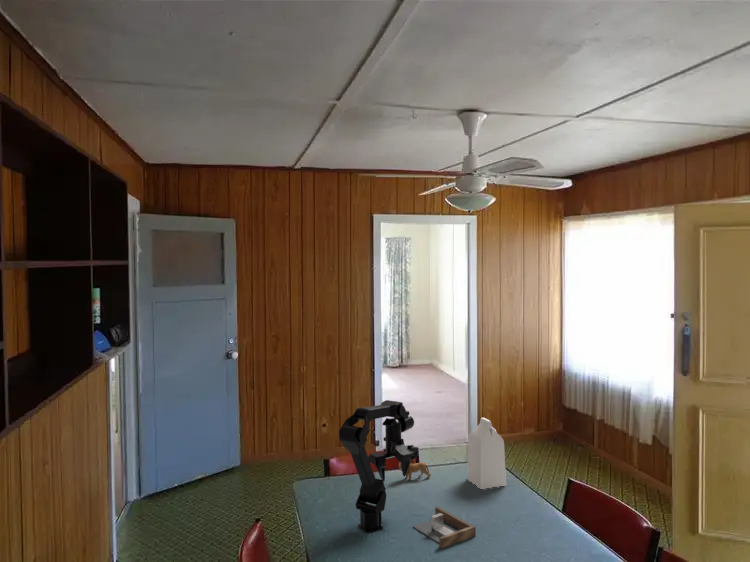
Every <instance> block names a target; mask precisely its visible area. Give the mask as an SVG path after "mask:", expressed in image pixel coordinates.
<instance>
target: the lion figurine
mask: <svg viewBox="0 0 750 562" xmlns="http://www.w3.org/2000/svg"><path fill="white" fill-rule="evenodd" d="M398 469H399V471H401V472H402V465H401V462H399V461H398ZM417 472H420V475H418V476H419V477H418V478H422V477H423V475H426V476H427V477H426V478H427V479H426V480H429V479H430V477H431V476H432V475H431V473H430V470H429V466H428V465H427V464H426V463H425V462H422V461H420V462H417V463H412V461H411V462H410V464H409V467H408V470H407V473H406V476H404V479H405V478H406V479H405V480H407V481H408V480H409V481H408V482H411V481H412V473H417ZM407 478H408V479H407ZM410 480H411V481H410Z"/></svg>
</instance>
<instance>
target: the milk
mask: <svg viewBox="0 0 750 562" xmlns="http://www.w3.org/2000/svg"><path fill="white" fill-rule="evenodd" d="M467 447H468V449H467V466H466V467H467V468H466V469H467V472H466V480H467V479H468V482H470V483H471V482H472V483H471V484H473V485H474V484H475V485H476V486H477V487H476V486H475V485H474V486H475V487H476V488H478V489H479V488H480V489H483V490H487V489H486V488H490V489H493V488H492V487H497V488H500V487H499V486H504V487H506V486H507V475H506V473H507V472H506V471H507V470H506V457H505V456H506V454H505V442H504V439H503V436H501V435H500V434H499V433H498V432H497V430H496V428H495V427H493V425H492V421H491V420H489V419H488V418H485V417H481V418H480V420H479V424H478V425H477V426H475V428H474V429H473V430H472V431H471V432H470V433H469V435H468V446H467ZM505 485H506V486H505ZM480 489H479V490H480Z"/></svg>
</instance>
